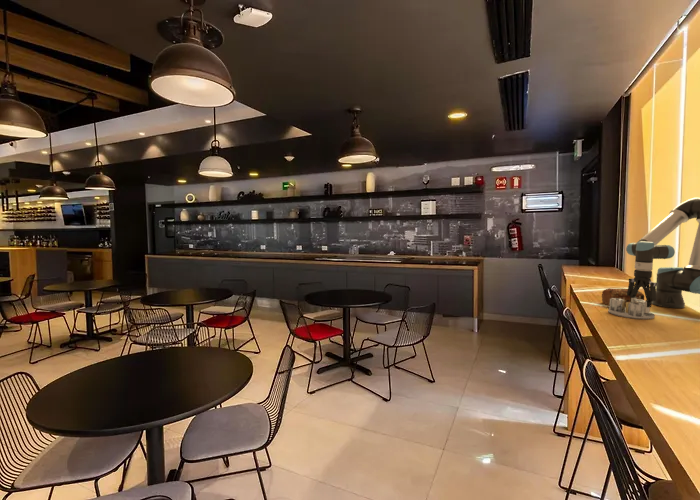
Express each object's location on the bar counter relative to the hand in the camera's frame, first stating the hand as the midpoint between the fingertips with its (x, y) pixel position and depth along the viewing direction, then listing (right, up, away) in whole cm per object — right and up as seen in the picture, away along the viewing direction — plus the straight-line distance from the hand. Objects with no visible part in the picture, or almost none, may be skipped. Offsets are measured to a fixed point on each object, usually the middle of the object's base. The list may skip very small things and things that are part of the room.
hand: (639, 310), depth 198 cm
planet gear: (0, 0, 0) cm, 0 cm away
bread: (+5, 0, +20) cm, 21 cm away
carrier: (-6, -2, -1) cm, 6 cm away
